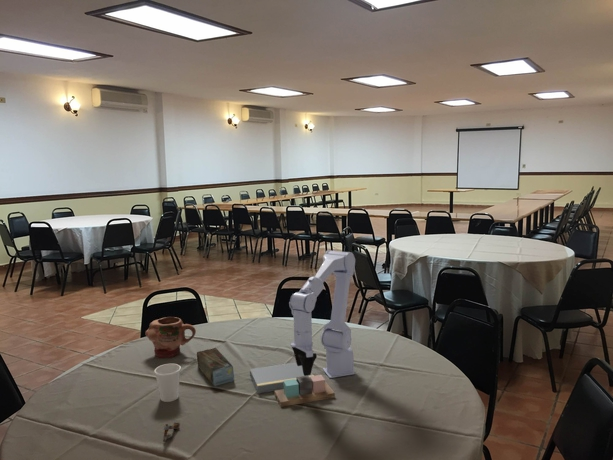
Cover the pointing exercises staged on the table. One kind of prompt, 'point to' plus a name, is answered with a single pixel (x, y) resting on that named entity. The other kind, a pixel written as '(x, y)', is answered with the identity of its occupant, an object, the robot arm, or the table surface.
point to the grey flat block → (275, 376)
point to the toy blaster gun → (167, 427)
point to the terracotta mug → (168, 336)
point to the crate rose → (318, 383)
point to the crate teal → (291, 388)
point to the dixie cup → (168, 381)
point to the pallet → (303, 398)
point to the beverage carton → (215, 366)
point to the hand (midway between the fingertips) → (303, 370)
